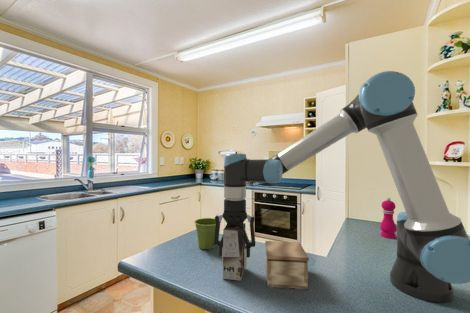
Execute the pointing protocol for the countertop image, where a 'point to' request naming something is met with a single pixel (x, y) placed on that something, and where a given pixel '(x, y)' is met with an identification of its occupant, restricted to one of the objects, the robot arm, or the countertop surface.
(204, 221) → the plant pot
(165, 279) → the countertop surface
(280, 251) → the lid
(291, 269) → the box
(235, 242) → the coffee box
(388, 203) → the pepper mill
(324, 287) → the countertop surface
